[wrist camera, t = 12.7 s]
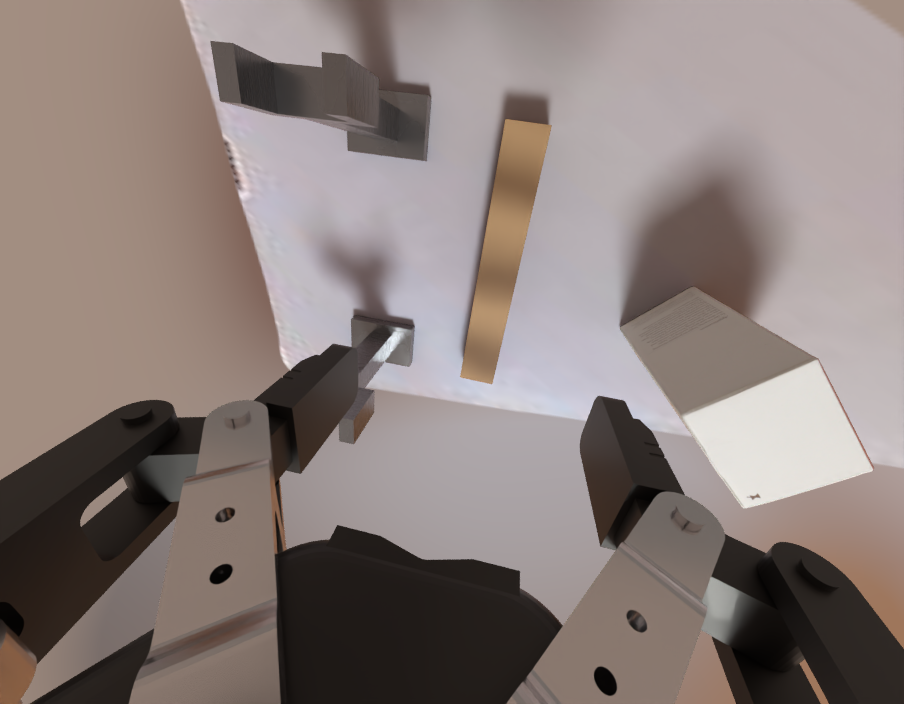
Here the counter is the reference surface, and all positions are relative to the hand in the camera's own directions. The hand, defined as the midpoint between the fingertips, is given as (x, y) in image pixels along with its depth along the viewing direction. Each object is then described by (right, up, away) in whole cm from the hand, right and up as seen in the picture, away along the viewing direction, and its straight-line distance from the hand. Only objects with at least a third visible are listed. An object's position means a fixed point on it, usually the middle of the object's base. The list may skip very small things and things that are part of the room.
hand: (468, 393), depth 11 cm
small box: (+19, +2, +18) cm, 26 cm away
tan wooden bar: (+4, +9, +18) cm, 20 cm away
